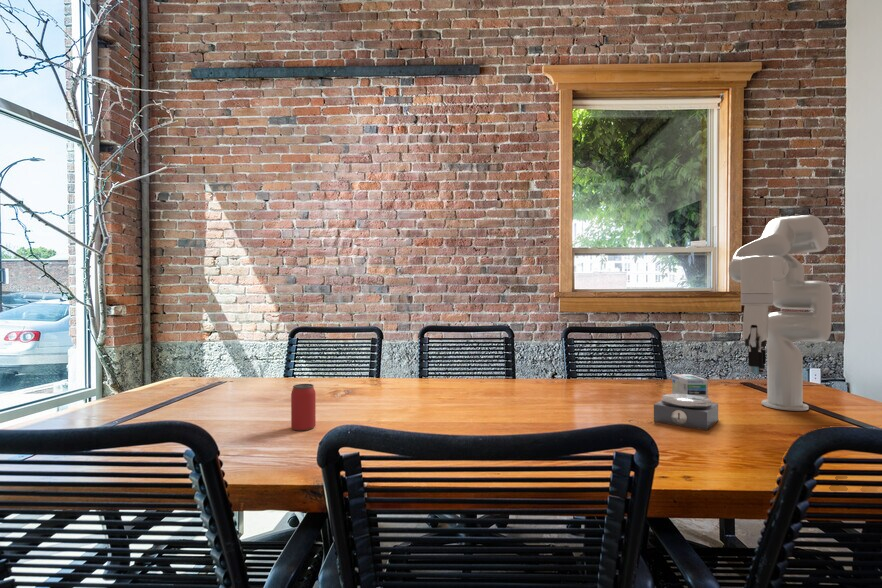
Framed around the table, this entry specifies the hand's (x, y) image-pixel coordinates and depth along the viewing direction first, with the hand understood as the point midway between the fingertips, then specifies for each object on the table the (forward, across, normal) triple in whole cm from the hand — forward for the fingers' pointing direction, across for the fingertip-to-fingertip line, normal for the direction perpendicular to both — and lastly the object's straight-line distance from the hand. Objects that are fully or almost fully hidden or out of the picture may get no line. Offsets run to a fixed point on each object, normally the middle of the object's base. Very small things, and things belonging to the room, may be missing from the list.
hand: (757, 364), depth 131 cm
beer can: (+16, +84, -96) cm, 129 cm away
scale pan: (+12, +5, -17) cm, 22 cm away
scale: (+18, +5, -17) cm, 25 cm away
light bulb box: (+18, -11, -20) cm, 29 cm away
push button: (+3, +1, 0) cm, 3 cm away
